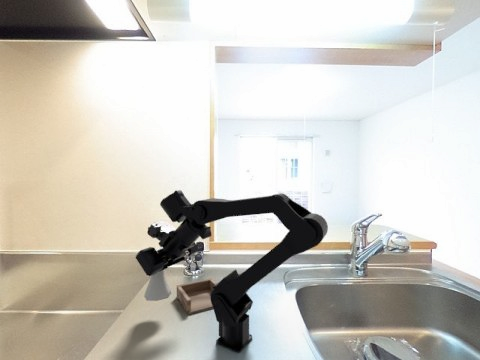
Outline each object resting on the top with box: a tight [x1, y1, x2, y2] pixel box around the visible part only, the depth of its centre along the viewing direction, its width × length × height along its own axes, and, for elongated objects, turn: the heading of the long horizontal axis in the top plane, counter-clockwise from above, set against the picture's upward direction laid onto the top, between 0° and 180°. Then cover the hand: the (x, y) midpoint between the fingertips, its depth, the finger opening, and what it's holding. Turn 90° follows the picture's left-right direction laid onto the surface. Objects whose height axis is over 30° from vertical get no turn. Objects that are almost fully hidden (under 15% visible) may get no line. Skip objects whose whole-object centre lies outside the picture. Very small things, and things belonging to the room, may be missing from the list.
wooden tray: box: [176, 277, 218, 316], centre depth 81 cm, size 12×12×4 cm
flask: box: [143, 270, 172, 302], centre depth 72 cm, size 7×7×10 cm
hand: (153, 270), depth 72 cm, fingers closed on flask, 3 cm apart
